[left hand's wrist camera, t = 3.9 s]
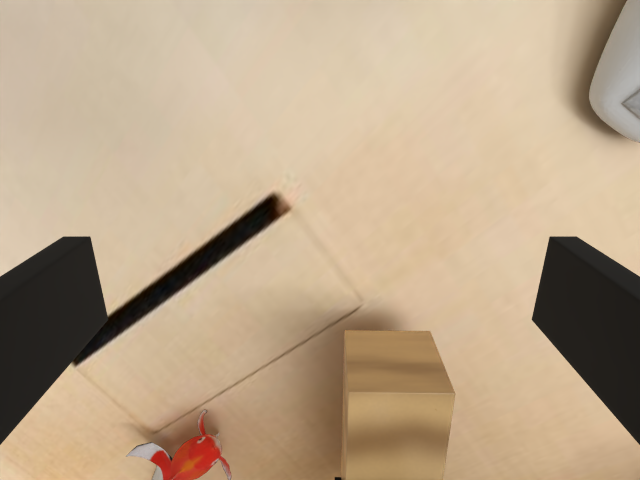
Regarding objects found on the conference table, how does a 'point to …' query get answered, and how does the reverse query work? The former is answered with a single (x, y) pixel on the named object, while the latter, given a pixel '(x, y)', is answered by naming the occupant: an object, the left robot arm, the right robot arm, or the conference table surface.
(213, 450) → the fish
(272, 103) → the conference table surface
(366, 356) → the box
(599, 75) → the projector
